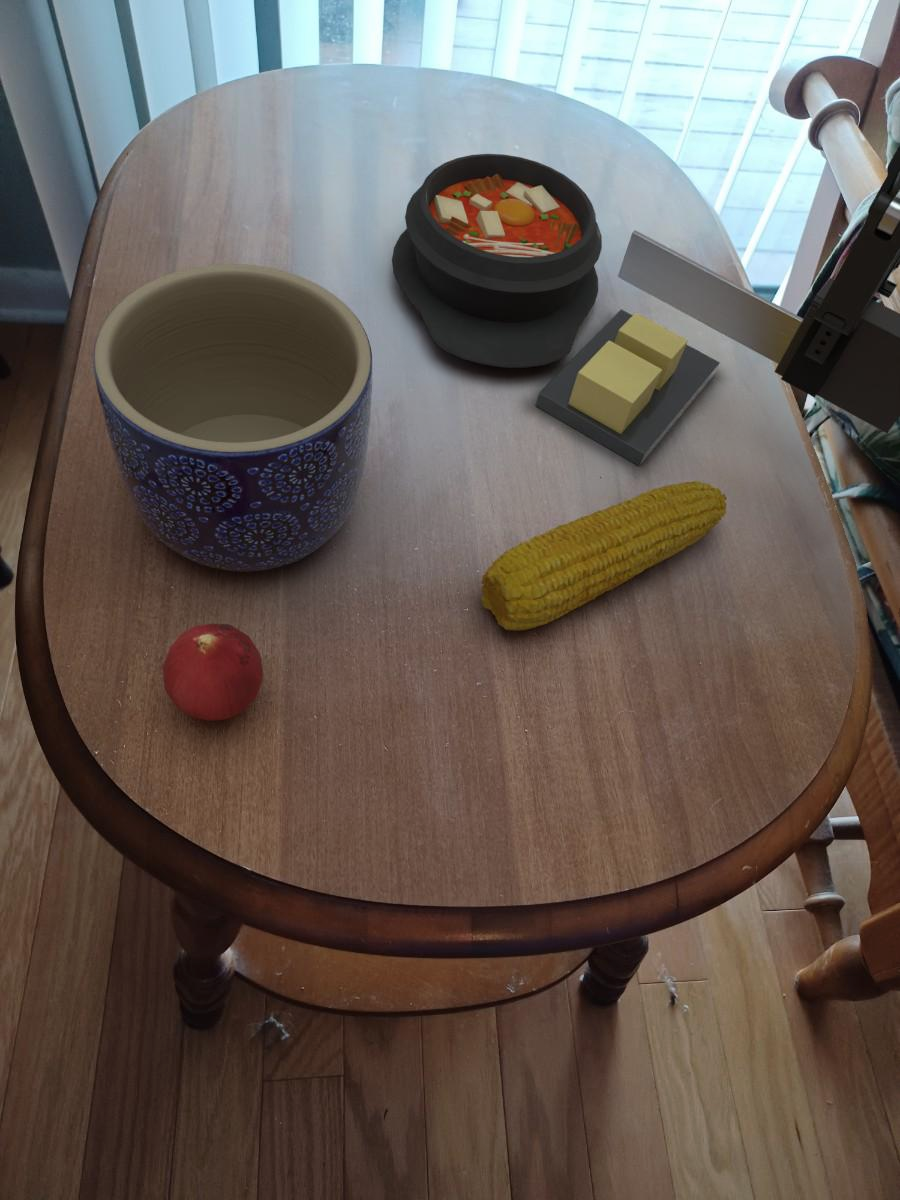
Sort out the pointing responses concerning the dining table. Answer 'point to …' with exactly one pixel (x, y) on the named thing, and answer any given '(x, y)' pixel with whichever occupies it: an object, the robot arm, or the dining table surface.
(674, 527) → the food
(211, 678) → the onion
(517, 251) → the casserole
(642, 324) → the butter pat
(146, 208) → the dining table surface
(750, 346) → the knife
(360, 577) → the dining table surface
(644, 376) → the butter block
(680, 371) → the board
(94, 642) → the dining table surface
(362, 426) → the planter
